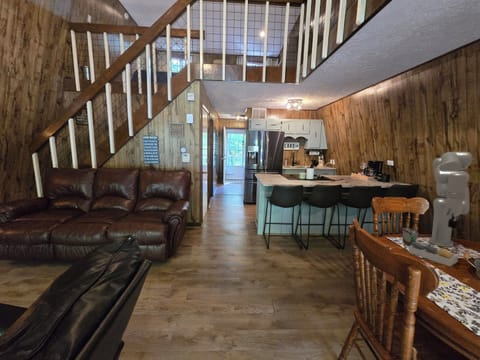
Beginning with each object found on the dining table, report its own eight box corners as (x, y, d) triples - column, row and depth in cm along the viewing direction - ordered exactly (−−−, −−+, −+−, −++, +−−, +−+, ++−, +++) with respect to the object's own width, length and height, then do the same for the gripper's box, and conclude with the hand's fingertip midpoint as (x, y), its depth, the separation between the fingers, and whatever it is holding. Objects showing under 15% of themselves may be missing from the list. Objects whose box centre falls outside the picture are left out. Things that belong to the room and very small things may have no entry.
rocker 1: (413, 243, 141) (414, 241, 141) (424, 248, 137) (425, 246, 136) (410, 245, 139) (411, 242, 139) (420, 250, 135) (421, 247, 134)
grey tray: (416, 249, 145) (416, 243, 144) (457, 262, 128) (458, 255, 127) (408, 252, 140) (409, 246, 140) (450, 266, 123) (450, 259, 122)
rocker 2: (426, 247, 136) (427, 244, 135) (437, 252, 131) (438, 250, 131) (422, 249, 134) (423, 246, 133) (434, 254, 129) (435, 251, 128)
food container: (421, 249, 145) (422, 234, 144) (410, 248, 146) (412, 233, 145) (411, 241, 157) (412, 228, 156) (401, 241, 158) (402, 227, 157)
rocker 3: (439, 251, 130) (440, 248, 130) (451, 257, 126) (453, 254, 125) (436, 253, 128) (437, 250, 127) (448, 259, 123) (449, 256, 123)
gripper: (452, 192, 129) (449, 222, 132) (441, 196, 122) (437, 228, 125) (470, 194, 123) (466, 226, 126) (459, 198, 116) (455, 232, 119)
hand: (452, 227), depth 125 cm, fingers closed
